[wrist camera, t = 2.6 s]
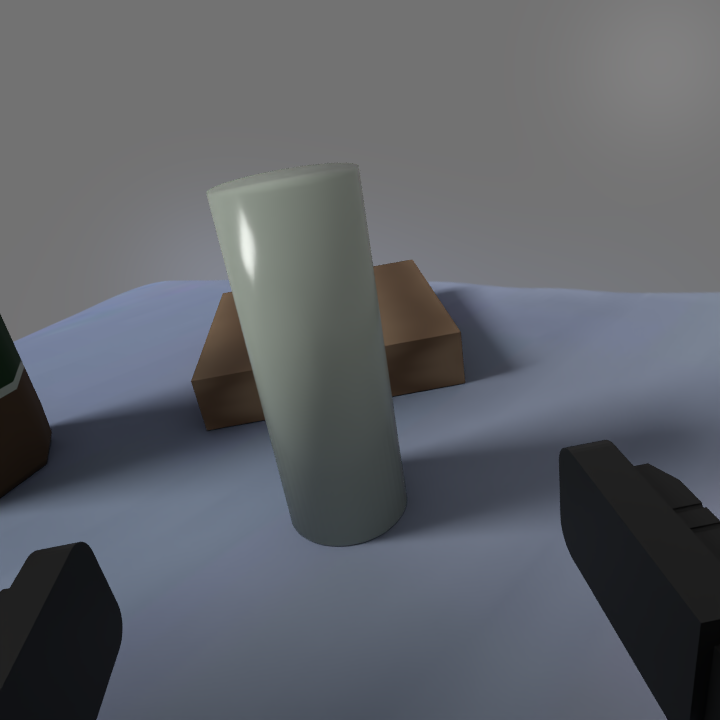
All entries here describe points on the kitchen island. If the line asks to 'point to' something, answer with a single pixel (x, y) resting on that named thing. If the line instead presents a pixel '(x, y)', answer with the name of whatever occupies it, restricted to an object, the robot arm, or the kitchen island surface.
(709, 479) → the kitchen island surface
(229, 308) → the walnut block
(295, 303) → the pale green cylinder
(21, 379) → the beer bottle
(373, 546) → the kitchen island surface
